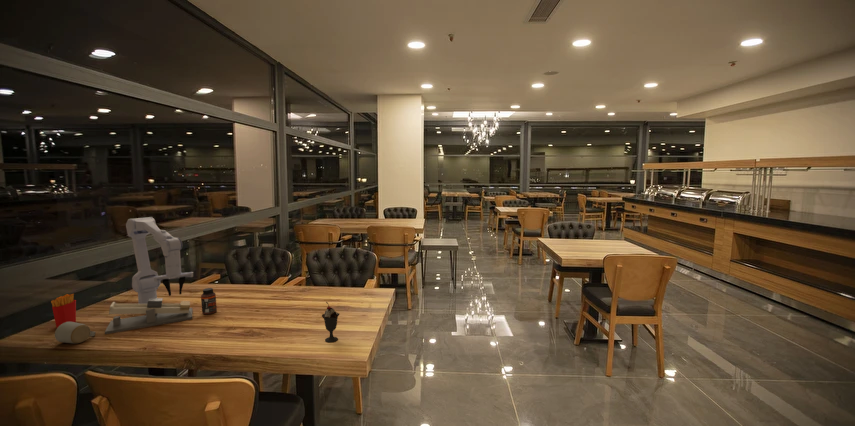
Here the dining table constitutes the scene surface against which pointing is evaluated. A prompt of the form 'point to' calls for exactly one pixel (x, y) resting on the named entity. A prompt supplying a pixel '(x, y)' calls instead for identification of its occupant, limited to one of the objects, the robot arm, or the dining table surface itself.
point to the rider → (154, 303)
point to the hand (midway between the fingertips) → (175, 294)
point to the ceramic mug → (73, 332)
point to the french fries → (64, 309)
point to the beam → (143, 307)
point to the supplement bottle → (208, 301)
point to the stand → (146, 320)
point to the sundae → (330, 322)
